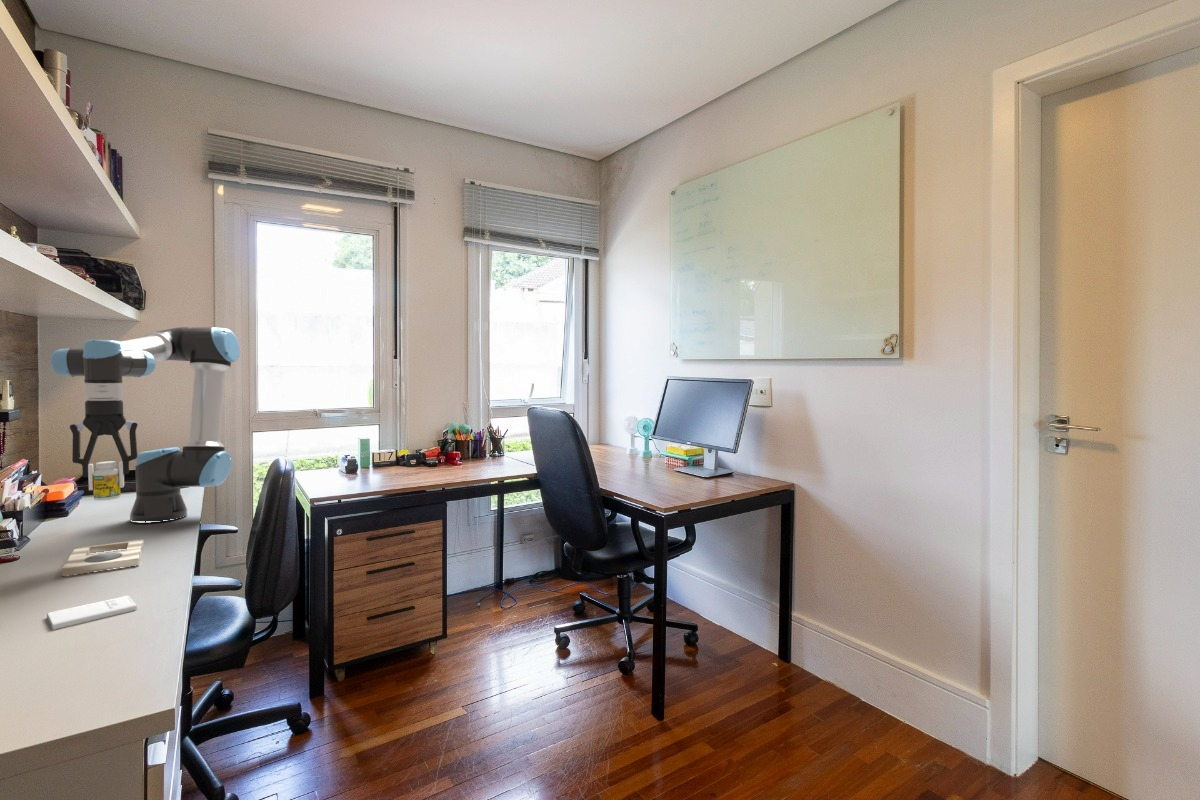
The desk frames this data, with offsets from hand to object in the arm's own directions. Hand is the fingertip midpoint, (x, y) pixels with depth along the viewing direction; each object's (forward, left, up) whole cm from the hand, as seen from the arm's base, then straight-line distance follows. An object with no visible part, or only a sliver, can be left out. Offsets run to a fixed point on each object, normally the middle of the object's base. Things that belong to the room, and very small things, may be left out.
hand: (106, 487), depth 150 cm
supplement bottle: (0, 0, -3) cm, 3 cm away
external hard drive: (+46, +1, -19) cm, 50 cm away
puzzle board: (+5, 0, -18) cm, 19 cm away
